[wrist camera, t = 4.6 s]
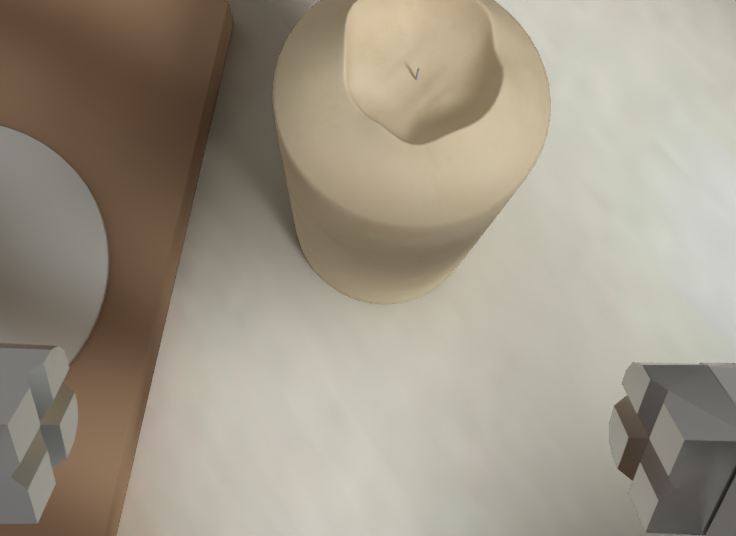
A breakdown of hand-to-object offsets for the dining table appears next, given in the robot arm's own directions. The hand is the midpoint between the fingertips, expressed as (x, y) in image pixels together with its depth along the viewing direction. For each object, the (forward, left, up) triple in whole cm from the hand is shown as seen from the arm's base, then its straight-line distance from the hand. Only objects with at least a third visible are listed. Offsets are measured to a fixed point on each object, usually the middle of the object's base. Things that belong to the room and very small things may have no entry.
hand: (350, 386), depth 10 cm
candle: (+6, 0, -11) cm, 12 cm away
